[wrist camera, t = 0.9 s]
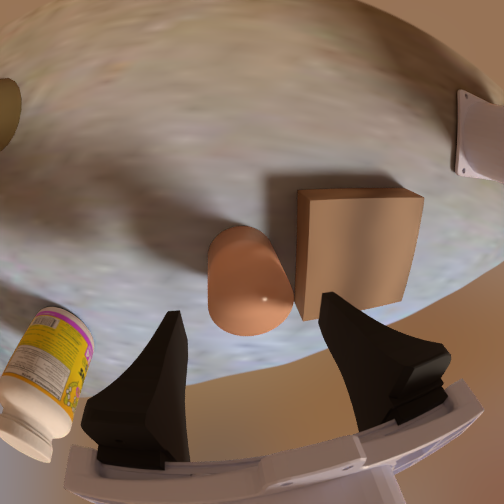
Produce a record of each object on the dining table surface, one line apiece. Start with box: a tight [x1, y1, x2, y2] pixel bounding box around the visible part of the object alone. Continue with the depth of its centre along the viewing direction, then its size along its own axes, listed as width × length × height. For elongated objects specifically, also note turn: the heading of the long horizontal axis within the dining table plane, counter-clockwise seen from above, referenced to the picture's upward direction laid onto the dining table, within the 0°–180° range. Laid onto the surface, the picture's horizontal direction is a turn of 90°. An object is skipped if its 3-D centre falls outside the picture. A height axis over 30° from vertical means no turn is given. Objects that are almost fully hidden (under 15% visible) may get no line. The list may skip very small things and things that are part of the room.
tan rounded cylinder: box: [208, 226, 294, 336], centre depth 17 cm, size 5×5×6 cm
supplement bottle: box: [0, 307, 94, 463], centre depth 14 cm, size 7×7×13 cm
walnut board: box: [294, 188, 424, 321], centre depth 19 cm, size 9×9×2 cm
